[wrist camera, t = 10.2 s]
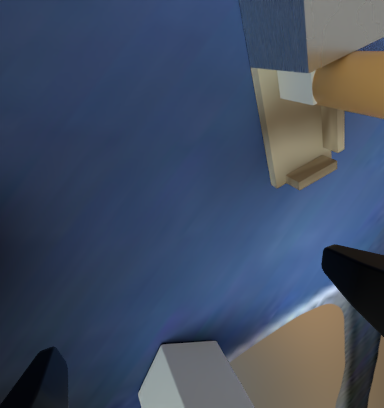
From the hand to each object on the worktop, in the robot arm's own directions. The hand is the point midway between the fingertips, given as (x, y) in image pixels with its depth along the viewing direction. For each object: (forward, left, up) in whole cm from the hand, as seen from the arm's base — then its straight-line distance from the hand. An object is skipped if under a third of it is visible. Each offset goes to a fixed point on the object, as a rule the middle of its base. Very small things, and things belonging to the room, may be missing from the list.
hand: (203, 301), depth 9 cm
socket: (+6, +14, -13) cm, 20 cm away
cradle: (+12, +8, -13) cm, 19 cm away
